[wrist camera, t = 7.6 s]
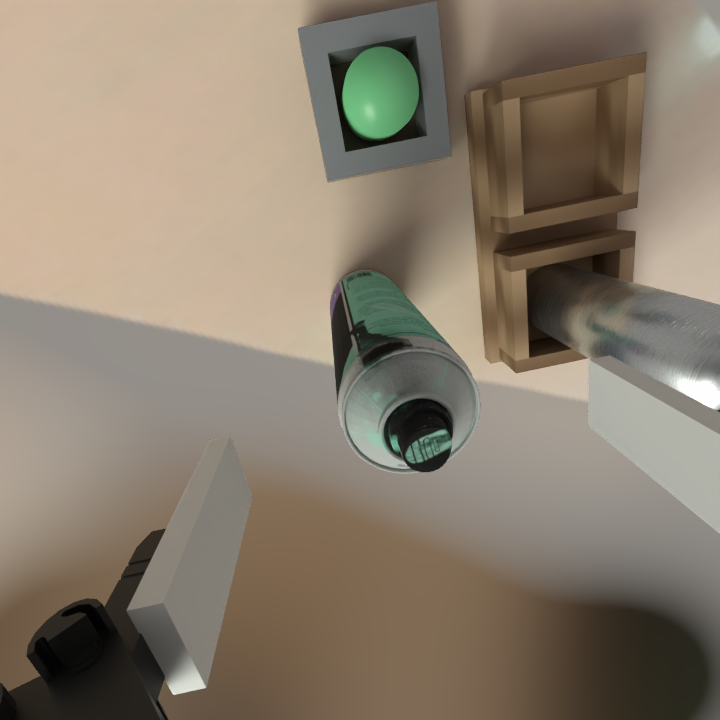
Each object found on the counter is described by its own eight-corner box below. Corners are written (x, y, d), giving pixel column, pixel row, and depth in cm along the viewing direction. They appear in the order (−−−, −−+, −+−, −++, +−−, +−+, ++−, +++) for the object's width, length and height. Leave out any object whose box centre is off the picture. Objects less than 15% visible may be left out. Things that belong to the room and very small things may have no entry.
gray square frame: (300, 43, 25) (297, 28, 23) (426, 18, 26) (436, 0, 23) (327, 182, 28) (328, 180, 26) (440, 159, 28) (451, 155, 26)
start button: (334, 70, 26) (336, 54, 23) (403, 56, 26) (413, 39, 23) (348, 148, 27) (351, 141, 25) (413, 134, 27) (423, 127, 25)
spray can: (315, 309, 31) (306, 465, 13) (361, 253, 30) (425, 336, 12) (368, 352, 33) (429, 544, 15) (414, 300, 32) (545, 438, 13)
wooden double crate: (464, 95, 27) (488, 78, 23) (611, 66, 27) (659, 43, 23) (485, 358, 34) (506, 378, 30) (602, 333, 34) (638, 350, 30)
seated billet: (517, 271, 31) (703, 336, 16) (582, 257, 31) (830, 310, 16) (520, 333, 32) (689, 446, 18) (581, 320, 32) (802, 422, 18)
